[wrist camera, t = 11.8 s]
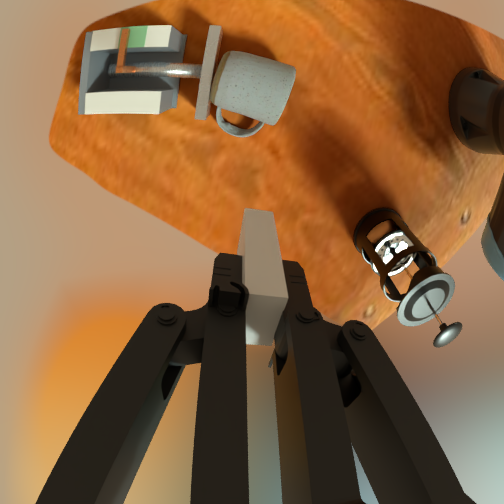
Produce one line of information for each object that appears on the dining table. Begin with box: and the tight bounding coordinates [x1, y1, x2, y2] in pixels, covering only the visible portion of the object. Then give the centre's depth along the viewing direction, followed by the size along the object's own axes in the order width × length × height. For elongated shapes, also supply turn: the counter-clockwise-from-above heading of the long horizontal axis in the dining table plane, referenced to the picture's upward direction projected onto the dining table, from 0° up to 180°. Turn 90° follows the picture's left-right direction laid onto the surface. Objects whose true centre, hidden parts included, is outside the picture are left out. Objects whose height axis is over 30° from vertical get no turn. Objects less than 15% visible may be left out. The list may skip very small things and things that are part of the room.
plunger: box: [108, 25, 223, 120], centre depth 25 cm, size 12×11×7 cm
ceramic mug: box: [210, 51, 296, 137], centre depth 29 cm, size 11×8×8 cm
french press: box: [354, 208, 462, 347], centre depth 35 cm, size 12×9×23 cm
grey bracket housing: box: [78, 25, 187, 114], centre depth 26 cm, size 10×10×7 cm
